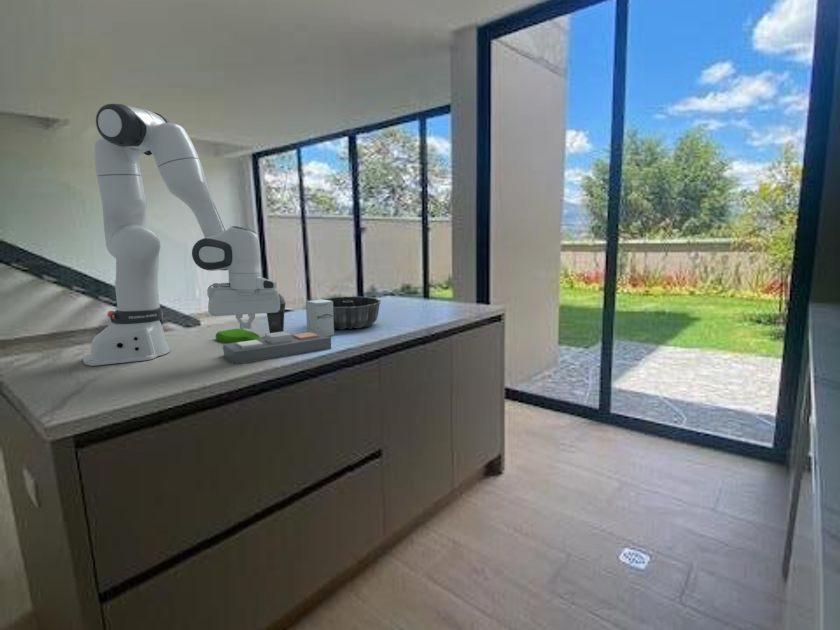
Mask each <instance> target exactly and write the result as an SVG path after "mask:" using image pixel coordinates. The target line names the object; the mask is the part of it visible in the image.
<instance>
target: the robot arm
mask: <svg viewBox="0 0 840 630" xmlns="http://www.w3.org/2000/svg"><path fill="white" fill-rule="evenodd" d="M95 127H96V129H97V131H98V133H99V135H100V137H99V138H97V140H96V141H95V143H94V165H95V173H96V178H97V184H98V189H99V194H100V199H101V200H100V201H101V205H102V214H103V215H102V216H103V217H102V218H103V220H102V221H103V231H104V238H105V239H104V240H105V247H106V249H107V251H108V253H109V255H111V256H112V257H113V258H114V259H115V281H114V289H115V290H114V291H115V297H116V305H117V309H116V310H115V311H114V310H108V312H107V317H109V318H110V322H111V324H109V325H107V327H105V328H104V329H103V330H101V331H100V332H99V333H98V334H97V335H95V336H94V338H93V339H92V342H91V346H90V347H91V348H90V352H89V353H87V354H85V355H83V357H82V363H83V364H84V365H87V366H92V367H93V366H96V367H97V366H104V365H112V364H123V363H133V362H141V361H142V362H143V361H150V360H153V359H155V358H158V357H159V356H163V355H166V354H168V353H170V352H171V349H170V347H169V345H168V341H167V339H166V335H165V332H164V327H163V325H164V315H163V314H164V313H163V309H162V306H161V305H160V296H159V285H158V280H159V279H158V278H159V277H158V275H159V264H160V263H159V262H160V251H161V241H160V239H159V237H158V236H157V234H156V233H154V231H152V230H151V229H150V228H148V227H146V226H147V225H146V224H147V223H146V221H147V219H146V212H147V211H146V209H147V199H146V192H145V188H144V182H143V176H142V175H143V174H142V171H141V166H140V159H141V156H142V155H143V154H144V155H146V156H151V155H152V156H153V158H154V160H155V163H156V165H157V169H158V171H159V174H160V176H161V179H162V180H163V182H164V185H165V186H166V187H167V189H168V191H169V192H170V193H171V194H172V195H174V196H175V197H176V198H178V199H179V200H181V201H182V202H183V203H184V204H185V205H187V206H188V207H189V209H190V210H191V211H192V213H193V214H194V216H195V218H196V221H197V223H198V225H199V227H200V229H201V232H202V234H203V238H201V239H199V240H197V241H196V242H195V243H194V245H193V246H192V249H191V257H192V260H193V262H194V263H195V265H196V266H197V267H199V268H200V269H202V270H205V271H208V272H211V271H212V272H213V271H228V282H221V283H218V282H217V283H216V282H215V283H212V284H211V285H209V286H208V287H207V291H206V292H207V297H208V305H207V312H208V314H210V316H213V317H218V316H234V315H235V319H236V320H237V322H238V323H239V329H243V330H250V329H252V323H254V319H255V318H256V314H267V313H275V312H278V311H279V310H280V298H279V294H280V292H278V290H277V286H278V284H277V282H276V281H273V280H271V279H268V278H266V277H261V270H260V269H261V268H260V260H261V247H260V246H261V245H260V238H259V235H258V233H257V232H256V231H255V230H254V229H251V228H247V227H243V226H236V225H235V226H234V225H233V226H230V227H229V228H228V229H225V226H224V224H223V222H222V219H221V217H220V214H219V211H218V210H217V207H216V204H215V202H214V201H213V197H212V195H211V191H210V188H209V186H208V182H207V178H206V175H205V171H204V168H203V165H202V163H201V160H200V157H199V155H198V152H197V150H196V148H195V146H194V145H195V144H193V142H192V140H191V137H190V136H189V134H188V133H187V130H185V128H184V127H183V126H181V125H180V124H177V123H175V122H170V121H169V120H168V119H167V118H166V117H165V116H163V115H161V114H160V113H158V112H153V111H150V110H148V109H145V108H142V107H138V106H136V107H135V106H129V105H125V104H122V103H109V104H108V103H107V104H104V105H103V106H101V107H100V108H99V109H98V111H97V113H96V116H95ZM243 315H247V316H248V320H247V322H244V321H243V320H242V319H243Z"/></svg>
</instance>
